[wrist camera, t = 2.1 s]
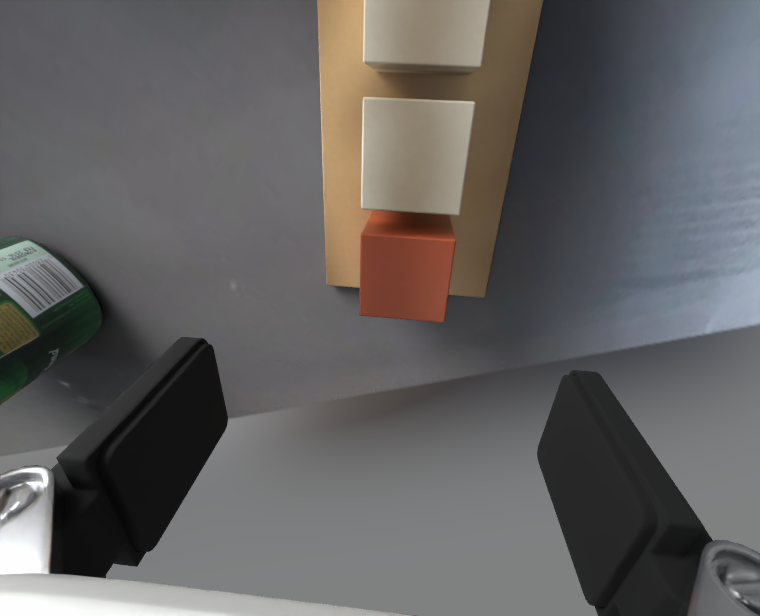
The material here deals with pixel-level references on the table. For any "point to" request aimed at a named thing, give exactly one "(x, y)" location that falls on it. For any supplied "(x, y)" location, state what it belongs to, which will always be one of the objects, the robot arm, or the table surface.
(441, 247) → the orange wooden cube
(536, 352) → the table surface
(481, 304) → the table surface
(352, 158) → the word board
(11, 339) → the coffee jar
